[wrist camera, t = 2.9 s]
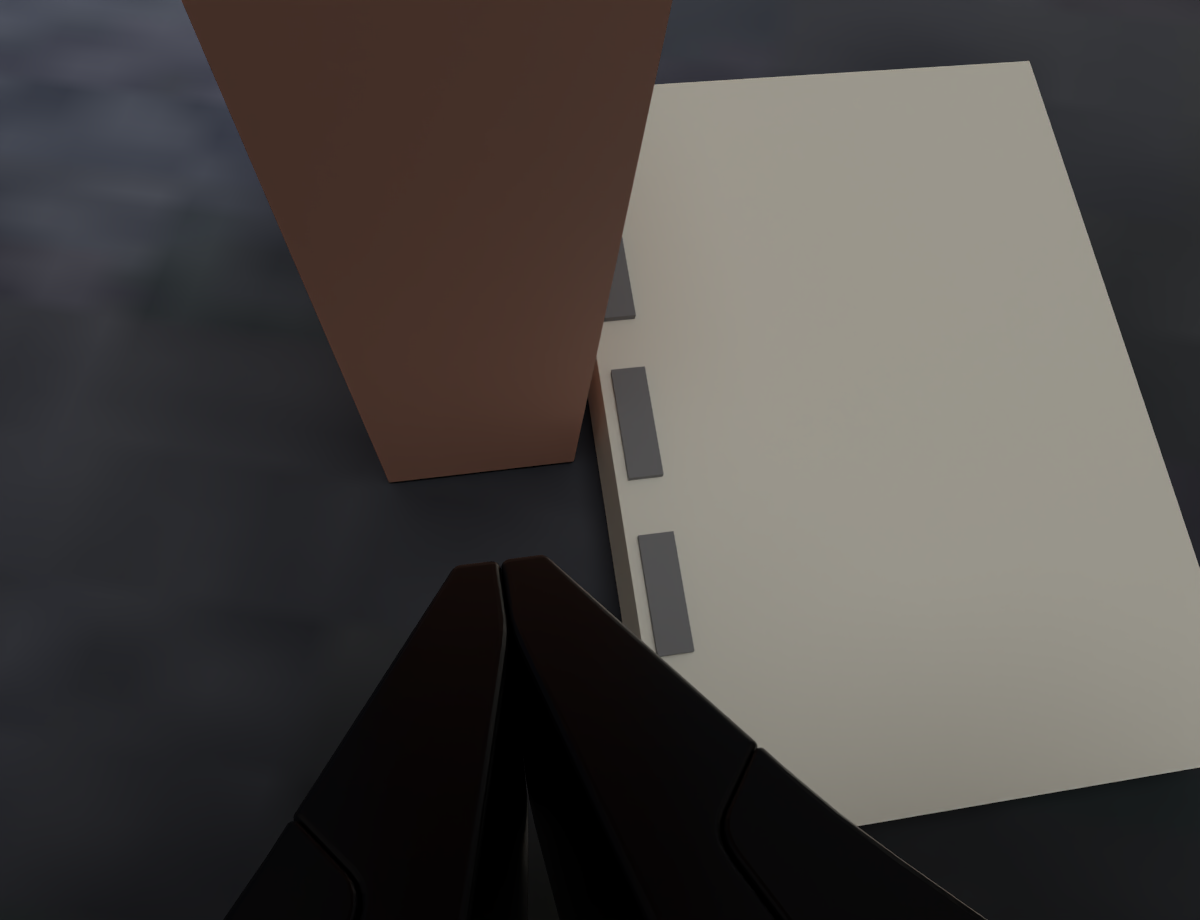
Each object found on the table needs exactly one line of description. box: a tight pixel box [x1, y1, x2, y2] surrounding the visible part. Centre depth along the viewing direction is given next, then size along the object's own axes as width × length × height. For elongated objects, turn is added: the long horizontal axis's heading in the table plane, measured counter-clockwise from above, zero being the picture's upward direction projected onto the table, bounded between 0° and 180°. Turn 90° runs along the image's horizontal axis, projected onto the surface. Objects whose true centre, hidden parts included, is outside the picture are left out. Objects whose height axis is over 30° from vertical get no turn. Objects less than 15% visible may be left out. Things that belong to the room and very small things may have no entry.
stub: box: [182, 0, 672, 482], centre depth 12 cm, size 6×4×15 cm, turn 8°
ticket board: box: [588, 61, 1200, 826], centre depth 18 cm, size 14×10×2 cm
